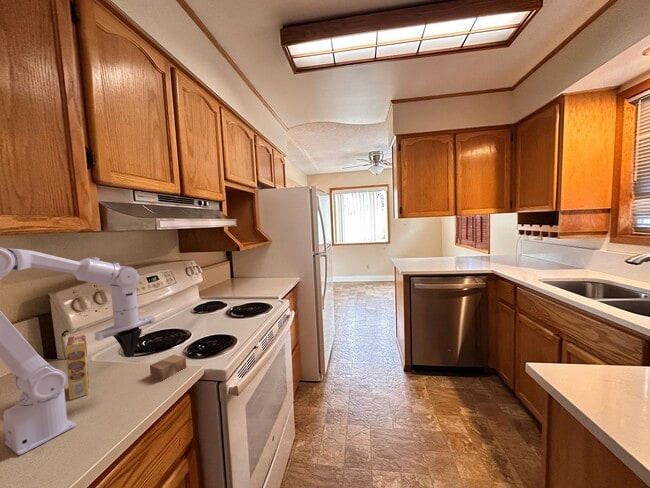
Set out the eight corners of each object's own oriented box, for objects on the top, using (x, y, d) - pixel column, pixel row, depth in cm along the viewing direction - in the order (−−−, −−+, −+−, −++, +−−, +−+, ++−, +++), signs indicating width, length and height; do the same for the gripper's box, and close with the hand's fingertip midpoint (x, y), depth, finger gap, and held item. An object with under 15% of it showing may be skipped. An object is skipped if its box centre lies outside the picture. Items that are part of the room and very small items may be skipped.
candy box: (89, 394, 79) (84, 341, 78) (69, 400, 76) (63, 346, 75) (90, 381, 86) (86, 333, 85) (71, 387, 83) (66, 337, 82)
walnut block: (162, 369, 84) (185, 357, 91) (149, 365, 87) (173, 354, 94) (163, 381, 84) (186, 369, 91) (150, 377, 87) (174, 365, 94)
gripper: (143, 300, 86) (146, 343, 87) (86, 314, 73) (91, 364, 74) (157, 302, 83) (161, 347, 84) (101, 317, 70) (105, 370, 71)
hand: (129, 355), depth 79 cm, fingers closed
